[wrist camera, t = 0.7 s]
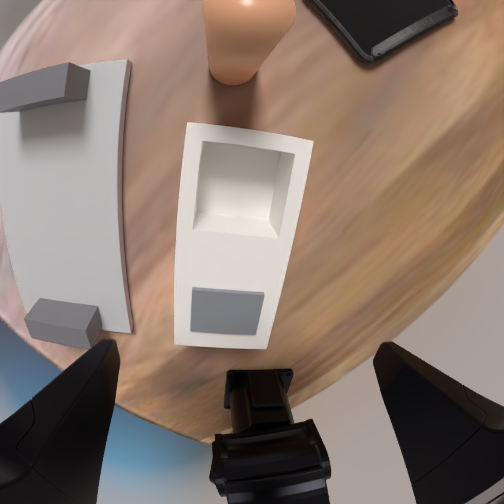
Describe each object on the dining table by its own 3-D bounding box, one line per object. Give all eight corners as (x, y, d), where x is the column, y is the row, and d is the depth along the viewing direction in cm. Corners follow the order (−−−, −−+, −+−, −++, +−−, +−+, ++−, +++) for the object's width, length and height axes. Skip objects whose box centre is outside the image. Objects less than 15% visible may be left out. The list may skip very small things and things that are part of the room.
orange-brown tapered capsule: (254, 87, 15) (291, 51, 7) (205, 83, 15) (196, 39, 7) (260, 46, 14) (299, -17, 6) (212, 41, 13) (210, -28, 5)
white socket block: (255, 305, 22) (267, 352, 17) (180, 300, 21) (174, 347, 16) (288, 137, 17) (315, 141, 12) (195, 124, 16) (186, 122, 11)
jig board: (133, 325, 21) (123, 359, 18) (32, 310, 20) (13, 337, 16) (131, 62, 13) (110, 47, 10) (9, 86, 11) (-23, 85, 8)
